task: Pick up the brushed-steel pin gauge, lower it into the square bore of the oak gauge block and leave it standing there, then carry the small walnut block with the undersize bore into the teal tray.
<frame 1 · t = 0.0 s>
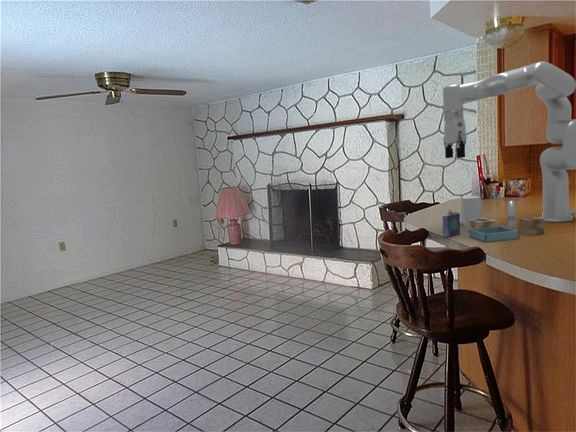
hand: (455, 157, 175), 31 cm above the worktop, tool pointing down, fingers open, 9 cm apart
walnut block: (531, 233, 162), on the worktop
flask: (451, 236, 171), on the worktop
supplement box: (471, 225, 190), on the worktop
steel pin: (511, 230, 171), on the worktop
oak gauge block: (482, 231, 173), on the worktop
teal tray: (493, 237, 161), on the worktop
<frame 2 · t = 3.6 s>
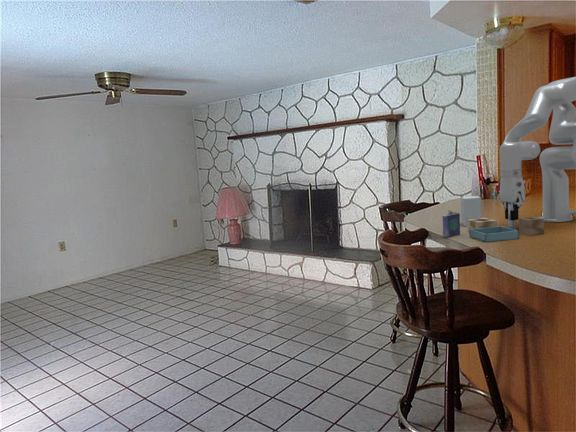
hand: (511, 219, 170), 5 cm above the worktop, tool pointing down, fingers closed on steel pin, 2 cm apart
steel pin: (511, 230, 171), on the worktop, touching gripper
everything else where it was.
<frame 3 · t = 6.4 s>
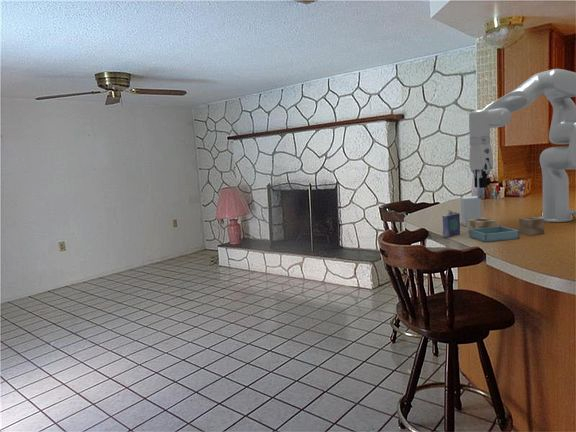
hand: (480, 186, 170), 19 cm above the worktop, tool pointing down, fingers closed on steel pin, 2 cm apart
steel pin: (481, 198, 171), point 14 cm above the worktop, touching gripper
everything else where it was.
when the fingers open (6 cm above the worktop, at t = 9.2 s): steel pin drops 2 cm, resting in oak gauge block.
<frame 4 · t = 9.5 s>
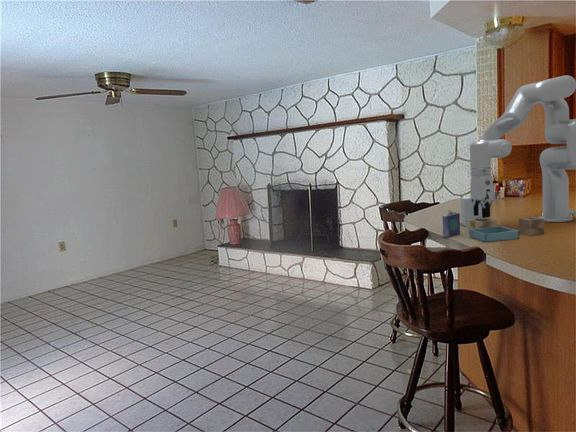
hand: (481, 215, 172), 7 cm above the worktop, tool pointing down, fingers open, 5 cm apart
steel pin: (482, 231, 173), resting in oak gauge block
everything else where it was.
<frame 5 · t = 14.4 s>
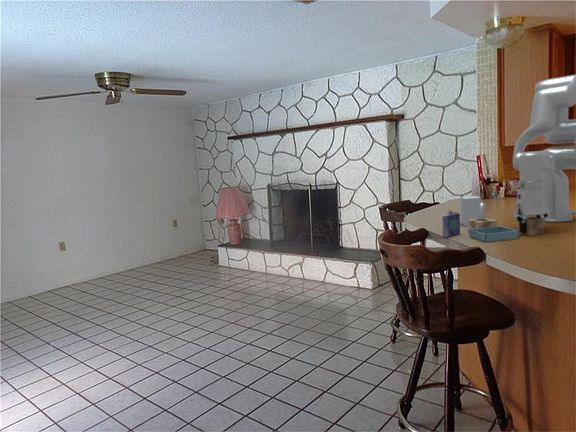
hand: (531, 231, 162), 1 cm above the worktop, tool pointing down, fingers closed on walnut block, 6 cm apart
walnut block: (531, 233, 162), on the worktop, touching gripper
everything else where it was.
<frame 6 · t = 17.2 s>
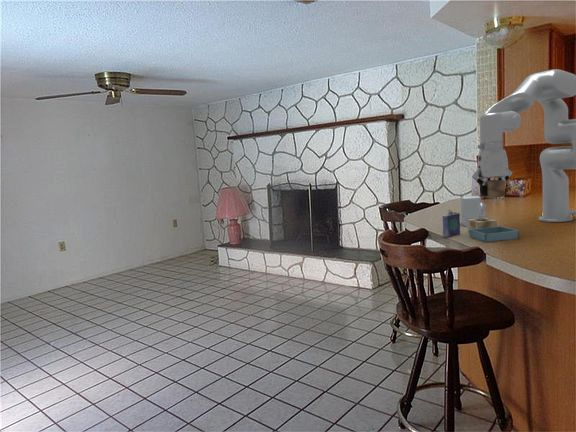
hand: (492, 194, 158), 17 cm above the worktop, tool pointing down, fingers closed on walnut block, 6 cm apart
walnut block: (492, 196, 158), point 16 cm above the worktop, touching gripper
everything else where it was.
when the fingers open (3 cm above the worktop, at t = 20.0 s): walnut block drops 2 cm, resting on teal tray.
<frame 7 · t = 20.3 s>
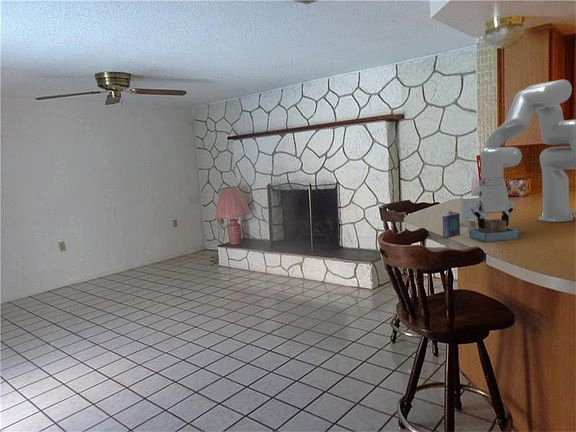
hand: (493, 226, 160), 4 cm above the worktop, tool pointing down, fingers open, 9 cm apart
walnut block: (494, 236, 161), point 1 cm above the worktop, touching teal tray
everything else where it was.
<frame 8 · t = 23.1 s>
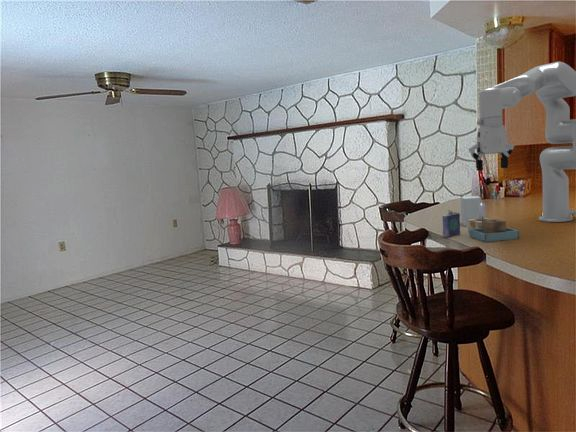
hand: (492, 169, 157), 26 cm above the worktop, tool pointing down, fingers open, 9 cm apart
nothing on the worktop moved.
at the end: walnut block inside the target area on the teal tray (0.3 cm from its centre), point 0.6 cm above the teal tray's base; steel pin 0.0 cm off-centre on the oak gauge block, point 0.0 cm above the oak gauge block's base; the gripper is holding nothing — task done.
